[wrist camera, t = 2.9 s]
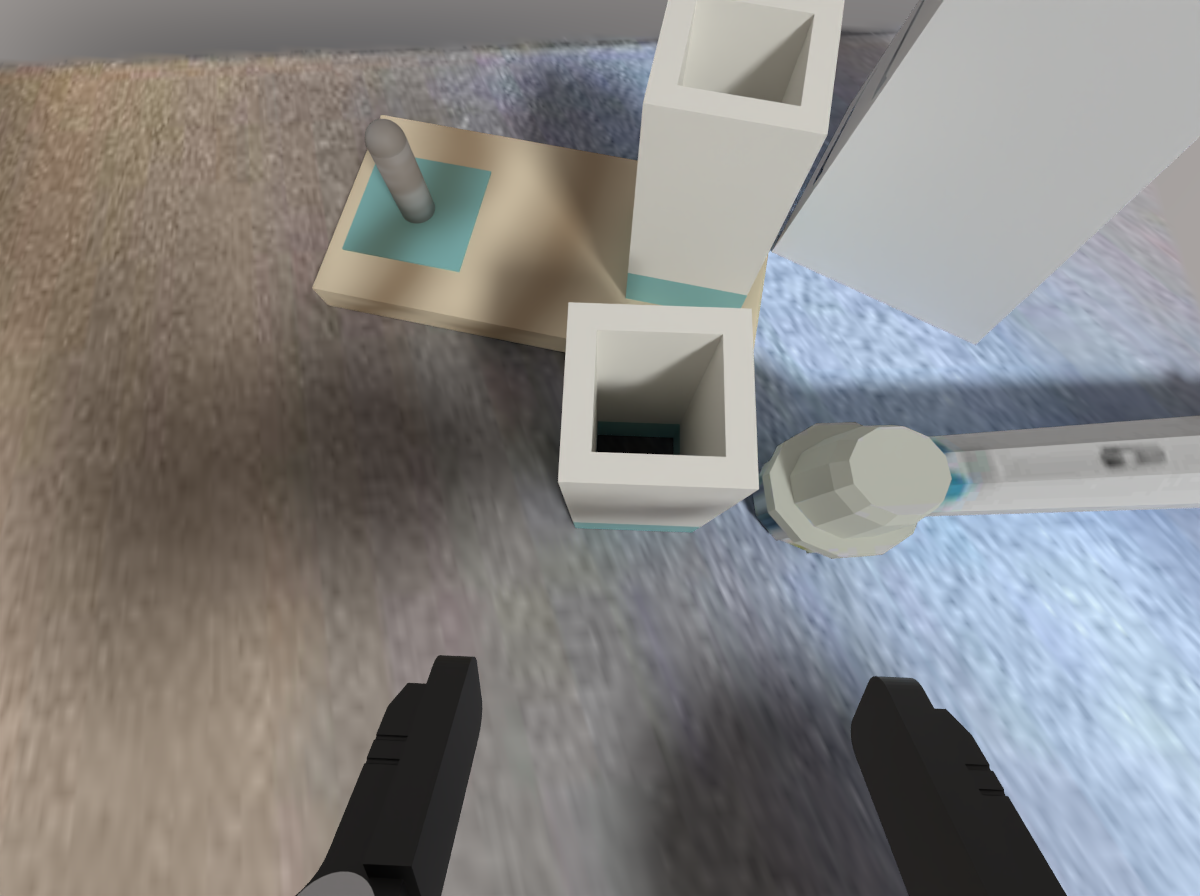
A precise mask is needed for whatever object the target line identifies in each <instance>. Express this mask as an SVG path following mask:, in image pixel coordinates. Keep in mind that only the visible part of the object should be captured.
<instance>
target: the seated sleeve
mask: <svg viewBox="0 0 1200 896" xmlns="http://www.w3.org/2000/svg"><path fill="white" fill-rule="evenodd" d="M844 2H845V0H668V3H667V7H666V11H665V15H664V20H663V23H662V27H661V31H660V36H659V40H658V44H657V48H656V52H655V56H654V60H653V64H652V68H651V73H650V77H649V81H648V85H647V89H646V93H645V97H644V101H643V109H642V121H641V132H640V143H639V154H638V165H637V176H636V188H635V199H634V210H633V221H632V232H631V243H630V254H629V266H628V277H627V288H626V298H627V299H632V300H637V301H642V302H647V303H653V304H658V305H663V306H690V307H719V308H741V307H742V305H743V303H744V301H745V299H746V297H747V295H748V293H749V291H750V289H751V287H752V285H753V283H754V281H755V279H756V277H757V275H758V273H759V271H760V269H761V267H762V265H763V263H764V261H765V259H766V257H767V255H768V253H769V251H770V249H771V247H772V245H773V243H774V241H775V239H776V237H777V235H778V233H779V231H780V229H781V227H782V225H783V223H784V221H785V219H786V217H787V215H788V213H789V211H790V209H791V207H792V205H793V203H794V201H795V199H796V197H797V195H798V193H799V191H800V189H801V187H802V185H803V183H804V181H805V179H806V177H807V175H808V173H809V171H810V169H811V167H812V165H813V163H814V161H815V159H816V157H817V155H818V153H819V151H820V149H821V147H822V145H823V143H824V141H825V139H826V137H827V134H828V127H829V119H830V111H831V103H832V96H833V88H834V80H835V72H836V64H837V57H838V49H839V41H840V33H841V26H842V18H843V10H844Z"/></svg>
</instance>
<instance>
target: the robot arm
mask: <svg viewBox="0 0 1200 896" xmlns="http://www.w3.org/2000/svg"><path fill="white" fill-rule="evenodd" d="M481 719H482V697H481V690H480V682H479V674H478V667H477V660H476V658H475V657H466V656H444V655H439V656H438V657H437V658H436V660H435V662H434V664H433V667H432V670H431V672H430V675H429V678H428V681H427V684H420V683H407V685H406V686H405V687H404V688H403V689H402V690H401V692H400V693H399V694H398V695H397V696H396V697H395V699H394V700H393V701H392V702H391V703H390V704H389V706H388V707H387V710H386V712H385V714H384V717H383V719H382V722H381V724H380V727H379V729H378V732H377V734H376V739H375V740H374V741H373V744H372V746H371V749H370V751H369V754H368V756H367V761H366V764H365V763H364V766H363V768H362V771H361V773H360V776H359V778H358V780H357V783H356V785H355V788H354V790H353V793H352V795H351V798H350V800H349V802H348V805H347V807H346V810H345V812H344V815H343V817H342V820H341V822H340V824H339V827H338V829H337V832H336V834H335V837H334V839H333V842H332V844H331V846H330V849H329V851H328V854H327V856H326V858H325V860H324V862H323V863H322V865H321V867H320V868H319V870H318V872H317V873H316V874H315V876H314V877H313V878H312V879H311V881H310V882H309V883H308V884H307V885H306V886H305V887H304V888H303V889H302V890H301V891H300V892H299V893H298V894H297V895H296V896H441V894H442V890H443V885H444V881H445V877H446V873H447V868H448V864H449V860H450V856H451V851H452V847H453V843H454V839H455V835H456V830H457V826H458V822H459V818H460V813H461V809H462V805H463V801H464V796H465V792H466V788H467V784H468V779H469V775H470V771H471V767H472V763H473V758H474V754H475V750H476V746H477V741H478V737H479V732H480V727H481ZM851 739H852V745H853V750H854V753H855V756H856V759H857V761H858V764H859V766H860V769H861V772H862V774H863V777H864V779H865V782H866V785H867V787H868V790H869V792H870V795H871V798H872V800H873V803H874V805H875V808H876V811H877V813H878V816H879V819H880V821H881V824H882V826H883V829H884V832H885V834H886V837H887V839H888V842H889V845H890V847H891V850H892V852H893V855H894V858H895V860H896V863H897V866H898V868H899V871H900V873H901V876H902V879H903V881H904V884H905V886H906V889H907V892H908V894H909V896H1067V895H1066V893H1065V892H1064V890H1063V888H1062V887H1061V885H1060V883H1059V882H1058V880H1057V878H1056V877H1055V875H1054V873H1053V871H1052V870H1051V868H1050V866H1049V865H1048V863H1047V861H1046V860H1045V858H1044V856H1043V855H1042V853H1041V851H1040V850H1039V848H1038V846H1037V844H1036V843H1035V841H1034V839H1033V838H1032V836H1031V834H1030V833H1029V831H1028V829H1027V828H1026V826H1025V824H1024V823H1023V821H1022V819H1021V817H1020V816H1019V814H1018V812H1017V811H1016V809H1015V807H1014V806H1013V804H1012V802H1011V801H1010V799H1009V797H1008V796H1005V794H1004V789H1003V787H1002V785H1001V784H1000V782H999V780H998V779H997V777H996V775H995V774H994V772H993V771H991V770H990V768H989V763H988V762H987V760H986V758H985V757H984V755H983V753H982V752H981V750H980V748H979V746H978V745H977V743H976V741H975V740H974V738H973V736H972V735H971V734H970V733H969V732H968V731H967V730H966V729H965V728H964V727H963V726H962V725H961V724H960V723H959V722H958V721H957V720H956V719H955V718H954V717H953V716H952V715H951V714H950V713H949V712H948V711H947V710H946V709H934V707H933V706H932V704H931V702H930V700H929V698H928V697H927V695H926V693H925V691H924V689H923V688H922V686H921V685H920V684H919V682H917V681H916V680H915V679H913V678H899V677H877V676H875V677H872V678H871V679H870V680H869V682H868V685H867V687H866V689H865V692H864V694H863V696H862V699H861V701H860V703H859V706H858V708H857V710H856V713H855V715H854V717H853V720H852V724H851Z"/></svg>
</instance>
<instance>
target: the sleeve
mask: <svg viewBox="0 0 1200 896" xmlns="http://www.w3.org/2000/svg"><path fill="white" fill-rule="evenodd" d="M598 435H613V436H640V437H668V438H673V455H660V454H633V453H606V452H597V439H598ZM558 483H559V486H560V489H561V491H562V494H563V497H564V499H565V502H566V505H567V507H568V510H569V513H570V515H571V518H572V521H573V523H574V526H575V528H588V529H614V530H641V531H667V532H693V531H695V530H696V529H698V528H699V527H701V526H703V525H704V524H706V523H707V522H709V521H710V520H712V519H713V518H715V517H717V516H718V515H720V514H721V513H723V512H724V511H726V510H728V509H729V508H731V507H732V506H734V505H735V504H737V503H738V502H740V501H742V500H743V499H745V498H746V497H748V496H749V495H751V494H752V493H754V492H756V491H757V490H759V477H758V452H757V427H756V402H755V377H754V352H753V327H752V309H749V308H719V307H690V306H661V305H632V304H602V303H573V302H569V303H568V320H567V337H566V354H565V371H564V388H563V405H562V422H561V439H560V456H559V473H558Z"/></svg>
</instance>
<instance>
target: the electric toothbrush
mask: <svg viewBox="0 0 1200 896" xmlns="http://www.w3.org/2000/svg"><path fill="white" fill-rule="evenodd" d="M758 477H759V490H757V491H756V492H754V493H753V499H754V506H755V512H756V517H757V518H758V519H759V521H760V522H761V523H762V524H763V525H764V527H765V528H766V529H767V530H768V531H769V533H770V534H771V535H772V536H773V537H774V539H775V540H776V541H777V540H782V541H784V542H786V543H789V544H791V545H794V546H796V547H798V548H801V549H803V550H806V552H807V553H820V554H822V555H824V556H827V557H829V558H831V559H834V558H847V557H861V556H874V555H882V554H884V553H885V552H887V551H888V550H890V549H891V548H893V547H894V546H896V545H897V544H899V543H900V542H901V541H903V540H904V539H906V538H907V537H909V536H910V535H912V534H913V533H914V530H915V528H916V525H917V522H918V521H920V520H921V519H923V518H924V517H925V516H955V515H987V514H1019V513H1051V512H1083V511H1115V510H1147V509H1178V508H1200V416H1187V417H1174V418H1161V419H1148V420H1136V421H1123V422H1110V423H1097V424H1084V425H1071V426H1059V427H1046V428H1033V429H1020V430H1007V431H995V432H982V433H969V434H956V435H943V436H931V437H928V436H925V435H923V434H921V433H918V432H916V431H914V430H911V429H909V428H907V427H904V426H896V425H875V426H863V425H861V424H858V423H856V422H846V423H816V424H814V425H813V426H811V427H809V428H808V429H806V430H804V431H802V432H801V433H799V434H797V435H795V436H794V437H792V438H790V439H789V440H787V441H785V442H783V443H782V444H780V445H778V446H777V448H776V450H775V452H774V454H773V456H772V458H771V460H770V461H768V462H767V463H765V464H764V465H763V467H762V469H761V471H760V473H759V475H758Z"/></svg>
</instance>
